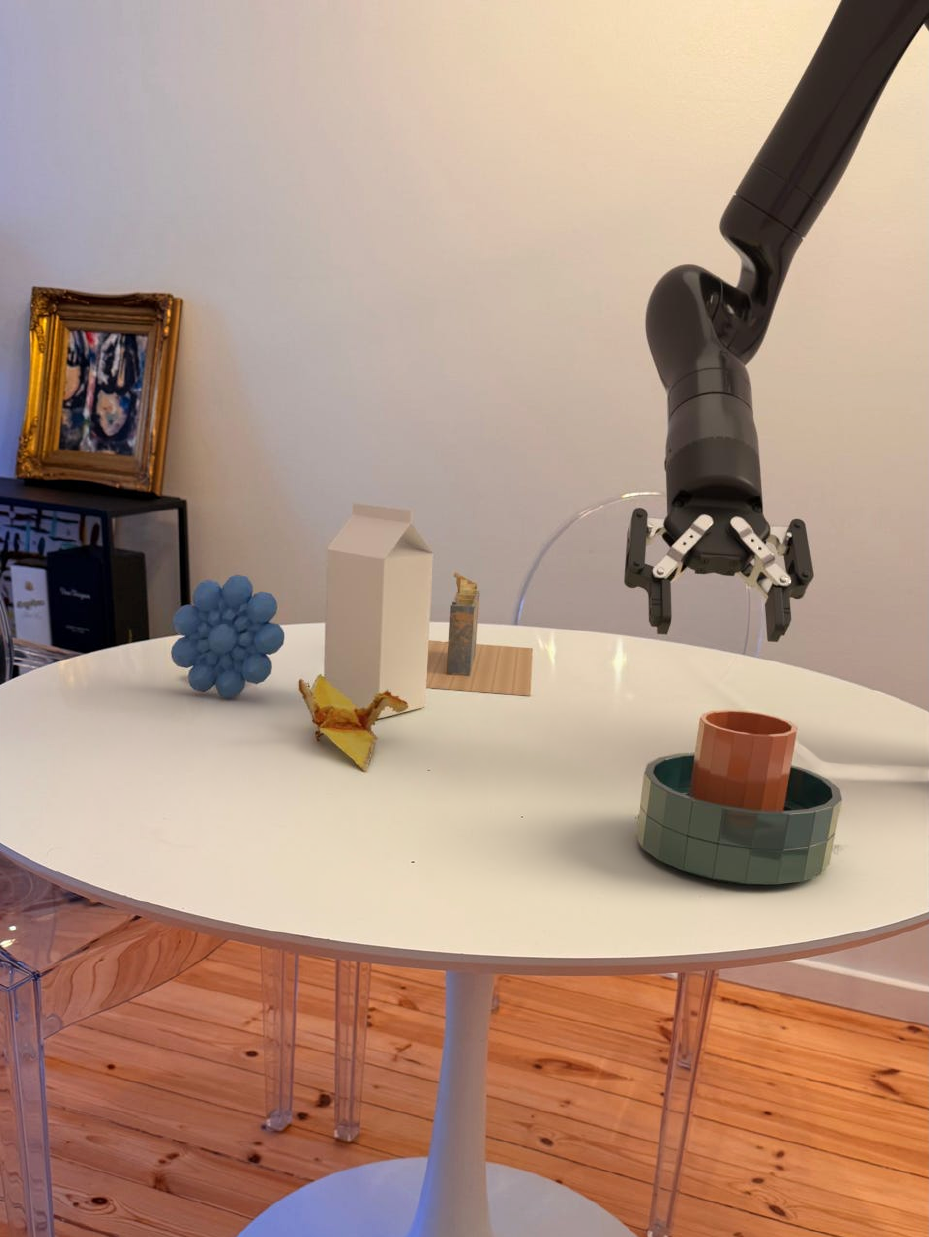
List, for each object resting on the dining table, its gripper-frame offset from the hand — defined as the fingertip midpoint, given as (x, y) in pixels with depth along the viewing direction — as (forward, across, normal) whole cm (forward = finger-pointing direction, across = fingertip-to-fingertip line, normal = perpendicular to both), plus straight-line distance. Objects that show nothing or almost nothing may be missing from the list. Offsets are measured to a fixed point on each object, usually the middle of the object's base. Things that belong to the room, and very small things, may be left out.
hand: (720, 632), depth 87 cm
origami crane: (+3, -30, +16) cm, 34 cm away
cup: (+17, 0, +1) cm, 17 cm away
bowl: (+18, 0, +1) cm, 18 cm away
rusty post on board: (-21, -20, +40) cm, 50 cm away
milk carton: (-6, -28, +25) cm, 38 cm away
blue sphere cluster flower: (-7, -42, +26) cm, 50 cm away
